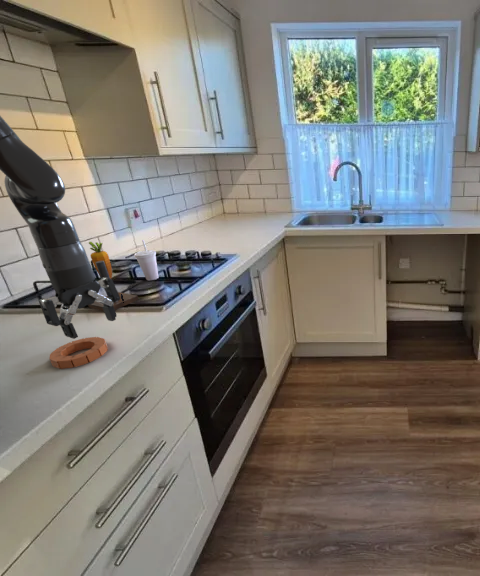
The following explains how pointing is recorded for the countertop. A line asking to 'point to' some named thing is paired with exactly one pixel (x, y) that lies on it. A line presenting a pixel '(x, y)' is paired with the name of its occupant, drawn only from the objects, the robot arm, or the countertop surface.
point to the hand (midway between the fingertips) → (93, 328)
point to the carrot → (100, 257)
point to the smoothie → (147, 263)
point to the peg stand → (127, 297)
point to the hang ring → (62, 359)
